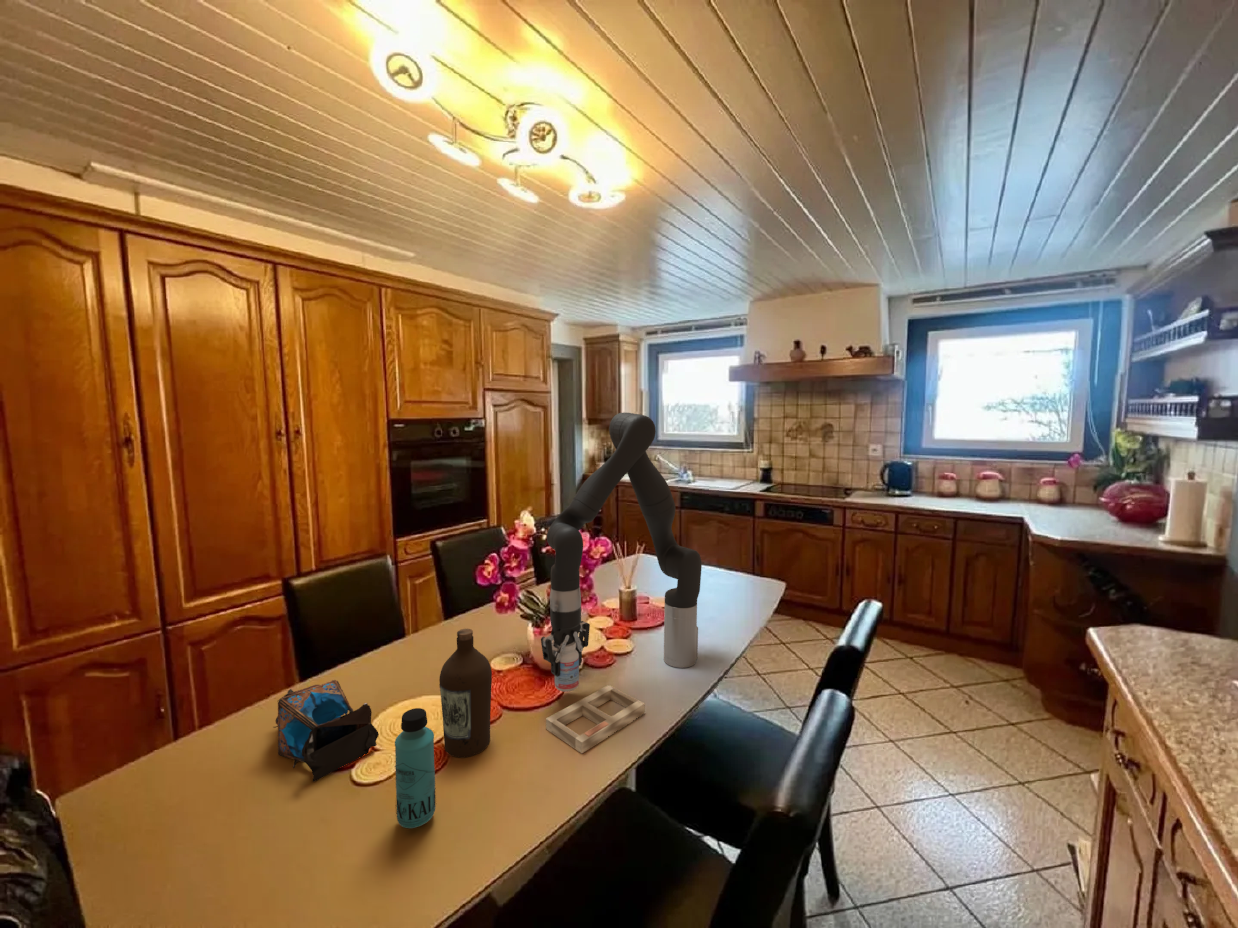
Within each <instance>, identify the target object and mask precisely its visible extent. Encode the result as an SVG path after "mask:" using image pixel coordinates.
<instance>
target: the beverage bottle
mask: <svg viewBox="0 0 1238 928" xmlns="http://www.w3.org/2000/svg"><path fill="white" fill-rule="evenodd" d="M427 724H428V716H427V711H426V710H425V709H424V708H421V707H416V708H410V709H408V710H406V711H405V712H404V713H402V715H401V723H400V729H401V732H400V733H399V734H398V735H397V737H396V738H395V741H394V747H395V748H394V749H395V751H394V752H395V765H394V769H395V785H394V786H395V791H396V793H395V800H394V801H395V802H394V803H396V805H395V808H396V812H395V815H396V821H397V823H398V824H399V826H401V827H403V828H406V829H415V828H417V827H421V826H423V825H425V824H427V823H428V822H429V821H430V820H431V819H432V818H433V816H434V814H435V811H436V793H437V792H436V791H437V789H436V788H437V787H436V773H435V772H436V769H435V745H434V744H435V743H434V742H435V739H434V738H435V733H434V731H433V730H432V729H431V728H429V727H427Z"/></svg>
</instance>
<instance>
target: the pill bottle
mask: <svg viewBox="0 0 1238 928" xmlns="http://www.w3.org/2000/svg"><path fill="white" fill-rule="evenodd" d="M557 647H558V648H560V646H558V645H557ZM556 654H557V652H556ZM556 654H555V656H556ZM559 661H560V676H558V677H557V676H555V675H554V687H555V688H556V690H558V691H559V692H567V693H568V692H572V691H575V690H577V689H578V687H579V685H580V666H579V654H578V651H577V650H576V642H573V643H571V644H568V645H566V646H565V649H564V652H563V653H562V654H561V657H560V660H559Z"/></svg>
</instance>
